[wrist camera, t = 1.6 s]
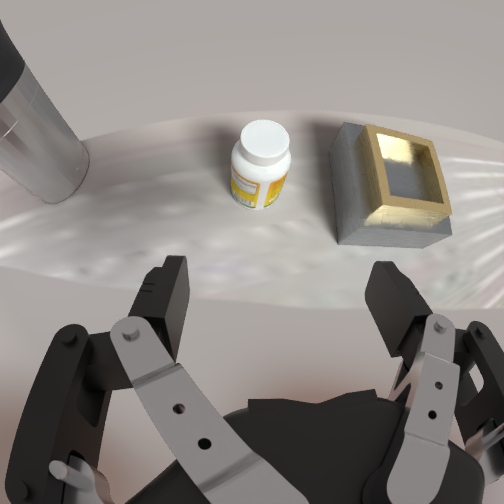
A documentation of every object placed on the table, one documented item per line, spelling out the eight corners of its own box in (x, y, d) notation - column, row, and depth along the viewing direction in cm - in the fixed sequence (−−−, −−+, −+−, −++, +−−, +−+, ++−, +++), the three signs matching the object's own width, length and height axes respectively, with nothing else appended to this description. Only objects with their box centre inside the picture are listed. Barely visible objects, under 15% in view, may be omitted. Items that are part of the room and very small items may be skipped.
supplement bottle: (233, 213, 29) (233, 167, 20) (229, 170, 30) (228, 114, 21) (283, 209, 30) (303, 163, 20) (276, 167, 31) (291, 112, 22)
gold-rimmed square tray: (337, 244, 29) (370, 219, 21) (328, 151, 32) (350, 110, 24) (422, 248, 30) (463, 229, 22) (406, 164, 33) (437, 133, 25)
